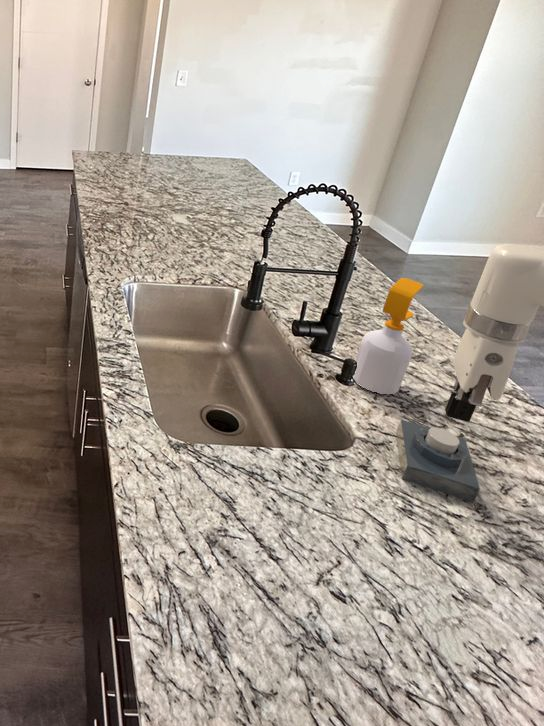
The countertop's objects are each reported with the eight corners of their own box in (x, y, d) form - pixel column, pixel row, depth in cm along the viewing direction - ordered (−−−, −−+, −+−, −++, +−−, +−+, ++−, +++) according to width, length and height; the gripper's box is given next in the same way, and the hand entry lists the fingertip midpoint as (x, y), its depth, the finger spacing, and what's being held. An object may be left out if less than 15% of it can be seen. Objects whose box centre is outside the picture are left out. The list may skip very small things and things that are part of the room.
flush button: (453, 441, 94) (457, 432, 93) (457, 458, 91) (461, 449, 90) (423, 432, 96) (427, 424, 95) (426, 448, 93) (430, 439, 92)
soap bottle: (405, 386, 116) (445, 286, 106) (385, 401, 111) (424, 297, 101) (363, 365, 122) (396, 268, 112) (342, 378, 117) (375, 279, 107)
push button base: (459, 451, 98) (468, 430, 96) (472, 503, 88) (484, 480, 86) (395, 432, 103) (403, 411, 101) (401, 479, 92) (410, 457, 90)
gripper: (541, 353, 75) (494, 453, 83) (514, 308, 88) (475, 398, 95) (476, 339, 79) (436, 436, 86) (458, 297, 91) (424, 385, 98)
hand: (456, 416), depth 90 cm, fingers closed
